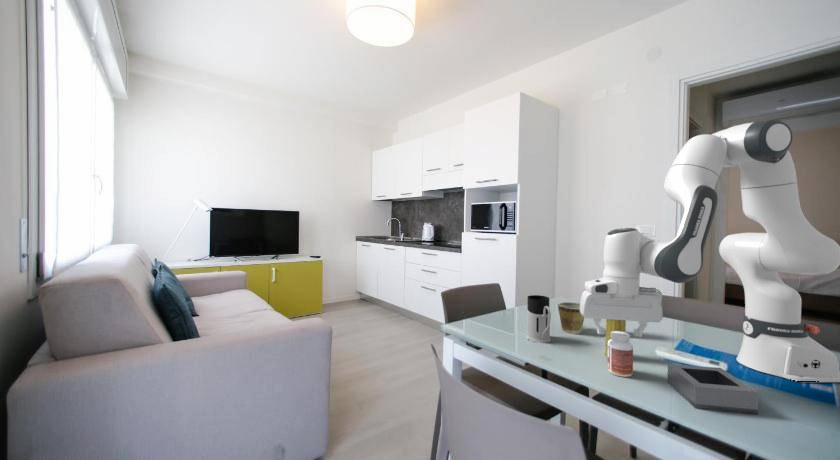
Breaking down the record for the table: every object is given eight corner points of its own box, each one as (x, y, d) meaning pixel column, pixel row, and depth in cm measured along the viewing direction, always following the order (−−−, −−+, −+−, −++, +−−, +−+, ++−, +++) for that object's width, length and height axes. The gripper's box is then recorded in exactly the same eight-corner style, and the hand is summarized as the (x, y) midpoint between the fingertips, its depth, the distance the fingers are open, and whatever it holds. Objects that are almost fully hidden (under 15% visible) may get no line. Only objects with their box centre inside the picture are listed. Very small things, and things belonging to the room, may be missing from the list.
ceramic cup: (591, 335, 123) (591, 308, 122) (564, 335, 123) (564, 308, 122) (575, 324, 136) (575, 300, 135) (550, 324, 136) (551, 300, 135)
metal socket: (720, 387, 84) (720, 367, 84) (757, 414, 73) (758, 391, 73) (667, 382, 87) (667, 364, 87) (695, 408, 75) (695, 386, 75)
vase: (630, 360, 100) (630, 314, 100) (608, 359, 102) (608, 313, 101) (622, 352, 106) (622, 309, 106) (601, 351, 108) (602, 308, 107)
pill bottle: (638, 376, 91) (639, 336, 90) (619, 378, 89) (620, 338, 89) (620, 366, 97) (620, 329, 96) (602, 368, 95) (602, 330, 95)
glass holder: (545, 334, 124) (545, 294, 124) (562, 348, 110) (562, 304, 110) (522, 334, 124) (522, 294, 124) (536, 349, 110) (536, 304, 109)
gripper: (656, 285, 93) (654, 334, 93) (578, 282, 97) (577, 328, 98) (668, 290, 87) (666, 342, 87) (584, 286, 91) (583, 335, 91)
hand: (619, 335), depth 92 cm, fingers open, 8 cm apart
